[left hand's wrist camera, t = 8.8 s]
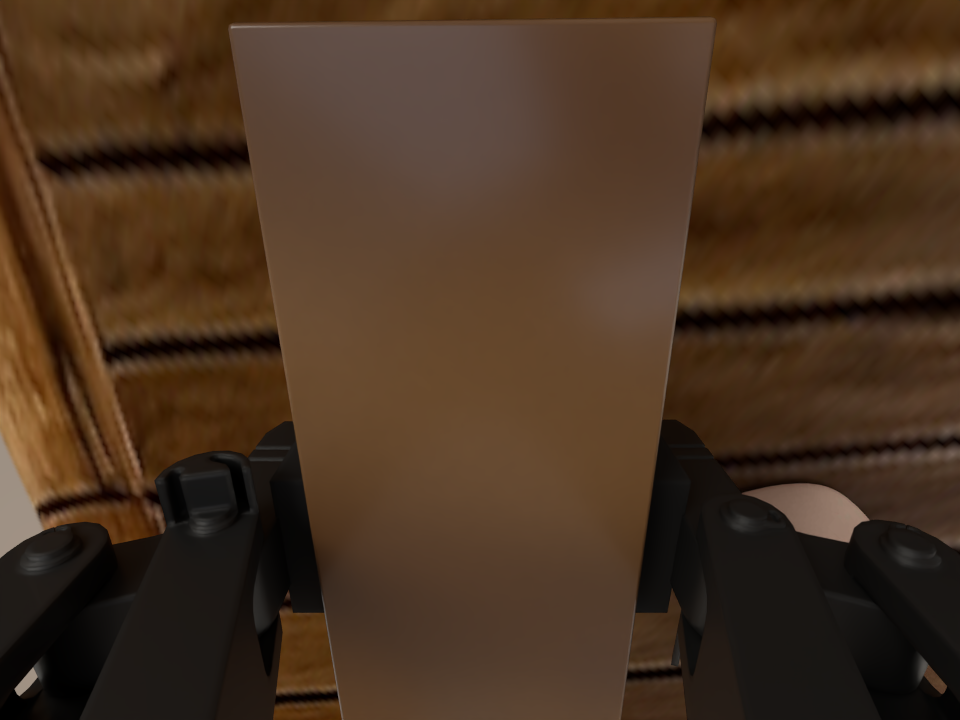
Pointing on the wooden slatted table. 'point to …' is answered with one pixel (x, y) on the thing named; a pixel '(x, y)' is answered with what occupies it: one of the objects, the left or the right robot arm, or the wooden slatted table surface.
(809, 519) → the anatomical model
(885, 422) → the wooden slatted table surface
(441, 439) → the bar
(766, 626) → the left robot arm
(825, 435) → the wooden slatted table surface
